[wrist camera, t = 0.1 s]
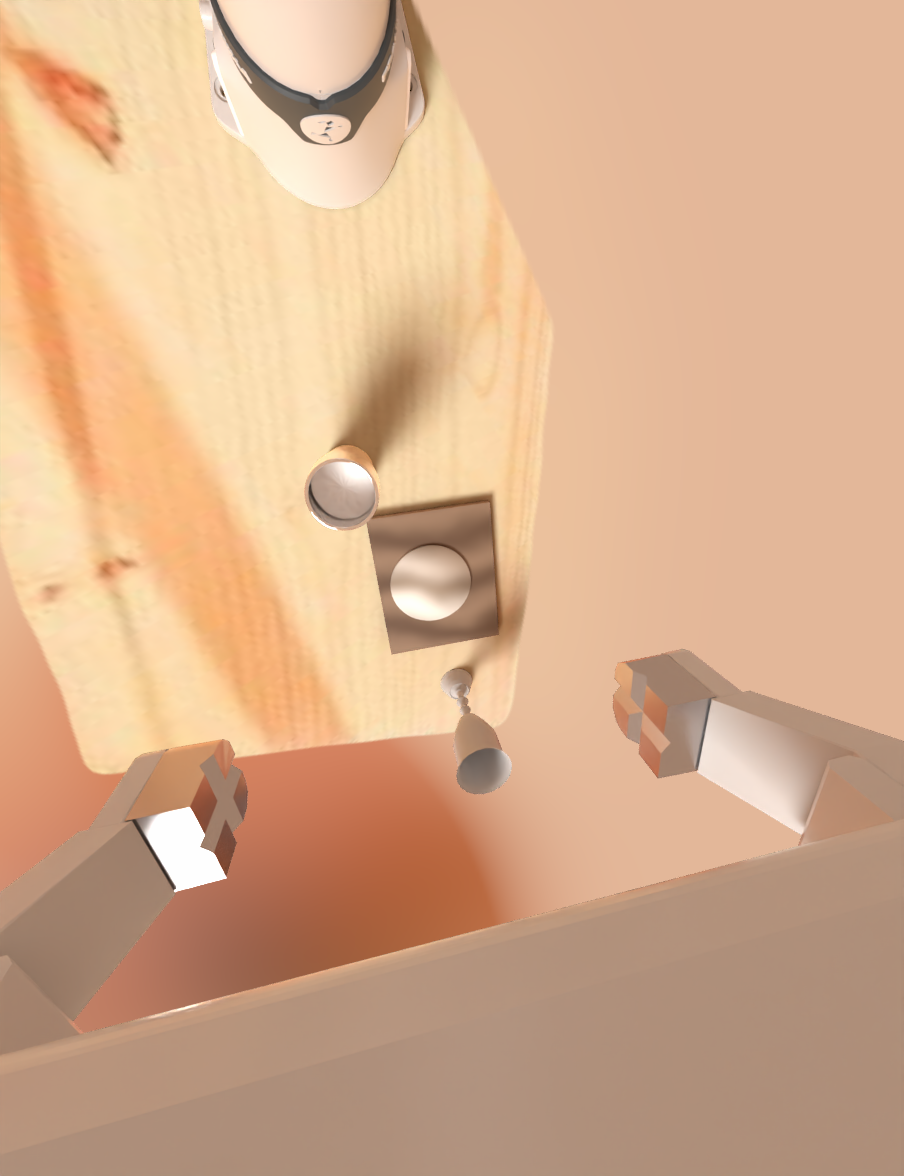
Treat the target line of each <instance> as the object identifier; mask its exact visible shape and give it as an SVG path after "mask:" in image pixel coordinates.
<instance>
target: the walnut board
mask: <svg viewBox="0 0 904 1176" xmlns="http://www.w3.org/2000/svg"><path fill="white" fill-rule="evenodd" d="M367 527H368V533H369V538H370V543H371V548H372V554H373V559H374V564H375V569H376V575H377V580H378V585H379V590H380V596H381V601H382V606H383V611H384V617H385V622H386V627H387V632H388V638H389V643H390V648H391V653H392V654H397V653H402V652H407V651H413V650H418V649H424V648H429V647H435V646H440V645H445V644H451V643H456V642H462V641H467V640H473V639H478V638H483V637H489V636H494V635H499V632H498V617H497V602H496V587H495V572H494V557H493V541H492V526H491V511H490V502H489V501H488V500H485V501H478V502H472V503H465V504H458V505H451V506H444V507H437V508H430V509H423V510H416V511H410V512H403V513H396V514H389V515H382V516H375V517H372V518H371V519H370V520H369V521H368V522H367Z"/></svg>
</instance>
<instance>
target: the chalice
mask: <svg viewBox="0 0 904 1176" xmlns="http://www.w3.org/2000/svg"><path fill="white" fill-rule="evenodd" d="M471 684H472V677H471V675H470V673H468V672H467V671H466V670H463V669H454V670H451V671H449V672H447V673H446V674H445V675H444V676H443V678H442V680H441V688H442V690H443V692H445V693H446V694H447V695H448V696H449V697H451V698H453V699H458V700H457V705H458V706H459V707H461V709H460V713H461V714H462V715H463V716H462V717H461V719H460V721H459V723H458V726H457V729H456V732H455V738H454V744H453V747H454V752H455V756H456V760H457V764H458V770H457V782H458V784H459V785H460V787H461V788H462V789H464V790H465V791H466V792H469V793H473V794H485V793H489V792H492V791H494V790H496V789H497V788H499V787H500V786H502V785H503V784H504V783H505V782H506V780H507V779H508V777H509V776H510V773H511V769H512V766H511V760H510V758H509V757H508V755H507V754H506V753H504V752H503V750H502V748H501V745H500V743H499V740H498V738H497V735H496V733H495V731H494V729H493V728H492V727H491V726H490V725H489V724H488V723H486V722H485V721H484V720H483V719H481V718H480V717H478V716H476V715H475V714H472V713H470V710H471V709H470V707H469V706H467V704H468V699H467V698H466V697H465V696H467V695H468V693H469V692H470V688H471Z"/></svg>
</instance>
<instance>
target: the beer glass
mask: <svg viewBox="0 0 904 1176" xmlns="http://www.w3.org/2000/svg"><path fill="white" fill-rule="evenodd" d="M304 494H305V501H306V504H307V506H308V509H309V510H310V512H311V514H312V515H313V516H314V517H315V518H316V519H317V520H318V521H319V522H320V523H322V524H323V525H325V526H327V527H329V528H332V529H335V530H342V531H345V530H353V529H356V528H359V527H361V526H363V525H364V524H366V523H367V522H368V521H369V520H370V519H371V518H372V516H373V515H374V513H375V512H376V509H377V506H378V502H379V497H380V482H379V478H378V475H377V472H376V470H375V468H374V467H373V463H372V461H371V459H370V457H369V456H368V455H367V454H366V453H365V452H364V451H363V450H362V449H360V448H358V447H355V446H352V445H342V446H338V447H336V448H334V449H333V450H331V451H330V452H329V453H326V454H325V455H323V456H322V457H321V458H319V459H318V460H317V461H316V462H315V464H314V465H313V466H312V468H311V470H310V472H309V474H308V478H307V480H306V483H305V490H304Z"/></svg>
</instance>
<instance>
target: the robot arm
mask: <svg viewBox="0 0 904 1176" xmlns="http://www.w3.org/2000/svg"><path fill="white" fill-rule="evenodd" d="M199 7H200V14H201V19H202V22H203V26H204V28H205V36H206V47H207V58H208V69H209V79H210V90H211V101H212V108H213V111H214V114H215V117H216V119H217V121H218V123H219V124H220V126H221V127H222V128H223V129H224V130H225V131H226V132H228V133H229V134H230V135H232V136H233V137H234V138H236V139H237V140H239V141H240V142H242V143H243V144H245V145H246V146H248V147H249V148H250V149H251V150H252V151H253V152H254V153H255V154H256V156H257V157H258V158H259V160H260V161H261V162H262V164H263V165H264V166H265V168H266V169H267V170H268V172H269V173H270V174H271V175H272V176H273V177H274V178H275V180H276V181H277V182H278V183H279V184H281V185H282V186H283V187H284V188H285V189H286V190H287V191H289V192H290V193H291V194H293V195H294V196H296V197H297V198H299V199H301V200H303V201H305V202H307V203H309V204H312V205H315V206H318V207H322V208H328V209H342V208H348V207H352V206H355V205H358V204H360V203H362V202H364V201H365V200H367V199H368V198H370V197H371V196H372V195H374V194H375V193H376V192H377V191H378V190H379V189H380V187H381V186H382V185H383V184H384V182H385V181H386V179H387V178H388V176H389V174H390V172H391V170H392V168H393V166H394V163H395V161H396V158H397V155H398V152H399V150H400V148H401V145H402V144H403V142H404V140H405V139H406V138H407V137H408V136H409V135H410V134H411V133H412V132H413V131H414V130H415V129H416V128H417V127H418V125H419V124H420V123H421V121H422V119H423V116H424V109H425V102H424V96H423V91H422V87H421V83H420V79H419V74H418V70H417V66H416V62H415V58H414V53H413V49H412V45H411V41H410V36H409V32H408V28H407V24H406V19H405V15H404V11H403V7H402V2H401V0H199ZM410 87H411V89H412V91H411V92H410ZM223 91H224V93H225V96H226V97H224V96H222V92H223ZM615 680H616V681H617V682H618V683H619V684H620V687H619V688H618V689H617V691H616V692H615V694H614V695H613V710H614V714H615V718H616V721H617V723H618V725H619V727H620V729H621V731H622V732H623V733H624V735H625V736H626V737H627V738H628V739H630V740H632V741H634V742H636V743H638V744H640V745H639V754H640V756H641V757H642V758H643V760H644V761H645V762H646V764H647V765H648V766H649V768H650V769H651V770H652V771H653V773H654V774H655V775H656V777H657V778H662V777H667V776H672V775H677V774H682V773H688V772H692V771H697V770H698V773H699V774H701V775H702V776H704V777H706V778H707V779H709V780H711V781H712V782H714V783H716V784H717V785H719V786H721V787H722V788H724V789H726V790H727V791H729V792H731V793H732V794H734V795H736V796H737V797H739V798H741V799H742V800H744V801H746V802H747V803H749V804H751V805H752V806H754V807H756V808H757V809H760V810H761V811H762V812H764V813H766V814H767V815H769V816H771V817H772V818H774V819H776V820H777V821H779V822H781V823H782V824H784V825H786V826H787V827H790V828H791V829H792V830H794V831H796V832H797V833H799V834H801V835H802V836H801V839H800V842H799V845H798V846H797V847H793V848H790V849H786V850H782V851H778V852H774V853H771V854H767V855H763V856H759V857H756V858H751V859H747V860H744V861H740V862H736V863H732V864H728V865H725V866H721V867H717V868H713V869H709V870H705V871H702V872H698V873H694V874H690V875H686V876H683V877H679V878H675V879H671V880H668V881H664V882H660V883H656V884H653V885H649V886H645V887H641V888H637V889H633V890H629V891H626V892H622V893H618V894H614V895H611V896H607V897H603V898H599V899H595V900H591V901H587V902H584V903H580V904H576V905H573V906H569V907H565V908H561V909H557V910H553V911H550V912H546V913H542V914H538V915H534V916H530V917H527V918H523V919H519V920H515V921H511V922H507V923H504V924H500V925H496V926H493V927H488V928H485V929H481V930H477V931H473V932H470V933H465V934H462V935H458V936H454V937H450V938H446V939H442V940H439V941H435V942H431V943H427V944H423V945H420V946H416V947H412V948H408V949H404V950H401V951H397V952H393V953H389V954H385V955H381V956H378V957H374V958H370V959H366V960H362V961H358V962H355V963H351V964H347V965H343V966H339V967H335V968H332V969H328V970H324V971H320V972H316V973H312V974H309V975H305V976H301V977H297V978H293V979H290V980H286V981H282V982H278V983H275V984H270V985H267V986H263V987H259V988H255V989H251V990H247V991H244V992H240V993H236V994H232V995H228V996H225V997H221V998H217V999H213V1000H210V1001H205V1002H202V1003H198V1004H194V1005H190V1006H186V1007H183V1008H179V1009H175V1010H171V1011H167V1012H164V1013H160V1014H156V1015H152V1016H148V1017H144V1018H140V1019H137V1020H133V1021H129V1022H125V1023H121V1024H118V1025H114V1026H110V1027H106V1028H102V1029H98V1030H95V1031H91V1032H87V1033H83V1032H82V1030H81V1029H80V1028H79V1027H78V1026H77V1025H76V1024H75V1023H74V1022H73V1021H74V1020H75V1019H76V1017H77V1016H78V1015H79V1014H80V1012H81V1011H82V1010H83V1009H84V1007H85V1006H86V1005H87V1004H88V1002H89V1001H90V1000H91V998H92V997H93V996H94V995H95V994H96V992H97V991H98V990H99V989H100V987H101V986H102V985H103V984H104V982H105V981H106V980H107V979H108V978H109V976H110V975H111V974H112V973H113V971H114V970H115V969H116V968H117V966H118V965H119V964H120V963H121V961H122V960H123V959H124V958H125V956H126V955H127V954H128V953H129V951H130V950H131V949H132V947H133V946H134V945H135V944H136V943H137V941H138V940H139V939H140V938H141V936H142V935H143V934H144V933H145V931H146V930H147V929H148V928H149V926H150V925H151V924H152V923H153V922H154V920H155V919H156V918H157V916H158V915H159V914H160V913H161V912H162V910H163V909H164V908H165V907H166V905H167V904H168V903H169V902H170V900H171V899H172V898H173V897H174V895H175V891H177V890H181V889H185V888H189V887H193V886H197V885H201V884H204V883H208V882H212V881H216V880H220V879H224V878H226V876H227V873H228V869H229V866H230V863H231V860H232V857H233V853H234V850H235V846H236V843H237V842H236V840H235V838H234V836H233V833H232V832H233V831H234V830H235V829H236V828H237V827H238V826H239V825H240V824H241V823H242V822H243V820H244V816H245V812H246V809H247V796H248V791H247V785H246V780H245V777H244V775H243V772H242V771H241V770H240V769H238V768H237V767H235V766H233V765H231V764H232V761H233V758H234V755H235V753H234V751H233V749H232V746H231V744H230V742H229V741H227V740H224V739H222V740H216V741H210V742H205V743H199V744H193V745H187V746H181V747H176V748H171V749H166V750H160V751H155V752H149V753H144V754H142V755H140V756H138V757H137V758H135V760H134V761H133V762H132V764H131V766H130V767H129V769H128V770H127V772H126V773H125V775H124V776H123V778H122V780H121V781H120V782H119V784H118V785H117V787H116V788H115V790H114V791H113V793H112V794H111V796H110V798H109V799H108V801H107V802H106V804H105V805H104V807H103V808H102V810H101V811H100V813H99V814H98V816H97V817H96V819H95V820H94V822H93V823H92V825H91V826H90V828H89V829H88V830H86V831H81V832H78V833H76V834H75V835H74V836H73V837H71V838H70V839H69V840H67V841H66V842H65V843H63V845H61V846H60V847H58V848H57V849H56V850H54V851H53V852H52V853H51V854H49V855H48V856H47V857H45V858H44V859H43V860H41V861H40V862H39V863H38V864H36V865H35V866H34V867H32V868H31V869H30V870H28V871H27V872H26V873H25V874H23V875H22V876H21V877H19V878H18V879H17V880H15V881H14V882H13V883H11V884H10V885H9V886H8V887H6V888H5V889H4V890H3V891H1V892H0V1176H904V741H902V740H899V739H896V738H893V737H890V736H887V735H884V734H880V733H877V732H874V731H871V730H868V729H865V728H862V727H859V726H856V725H853V724H849V723H846V722H844V721H840V720H838V719H834V718H831V717H828V716H825V715H822V714H819V713H816V712H813V711H810V710H807V709H804V708H800V707H798V706H795V705H792V704H788V703H785V702H782V701H779V700H776V699H773V698H770V697H767V696H764V695H761V694H758V693H755V692H752V691H746V692H742V691H740V690H739V689H738V688H737V687H735V686H734V685H733V684H731V683H730V682H729V681H728V680H726V679H725V678H724V677H723V676H721V675H720V674H719V673H717V672H716V671H715V670H714V669H712V668H711V667H709V666H708V665H707V664H706V663H705V662H703V661H702V660H700V659H699V658H698V657H697V656H696V655H694V654H693V653H692V652H690V651H688V650H685V649H680V650H676V651H671V652H666V653H662V654H661V655H656V656H650V657H645V658H641V659H635V660H630V661H626V662H621V663H618V664H617V667H616V669H615Z"/></svg>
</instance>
